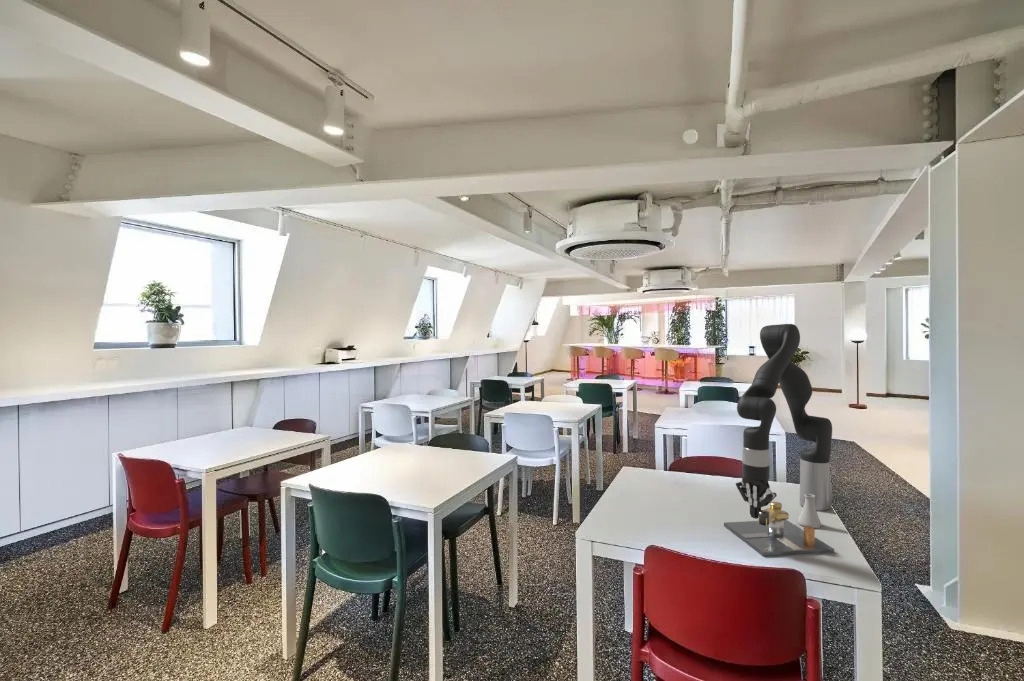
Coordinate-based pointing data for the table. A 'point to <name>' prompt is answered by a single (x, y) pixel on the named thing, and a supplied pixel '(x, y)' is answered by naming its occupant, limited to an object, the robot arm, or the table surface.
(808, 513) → the flask
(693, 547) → the table surface
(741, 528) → the lock base
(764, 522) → the brass lever handle
